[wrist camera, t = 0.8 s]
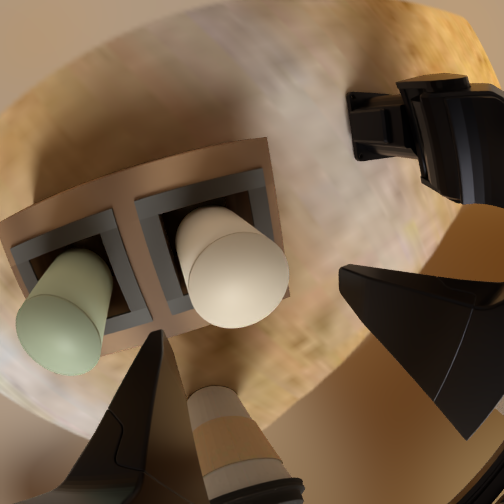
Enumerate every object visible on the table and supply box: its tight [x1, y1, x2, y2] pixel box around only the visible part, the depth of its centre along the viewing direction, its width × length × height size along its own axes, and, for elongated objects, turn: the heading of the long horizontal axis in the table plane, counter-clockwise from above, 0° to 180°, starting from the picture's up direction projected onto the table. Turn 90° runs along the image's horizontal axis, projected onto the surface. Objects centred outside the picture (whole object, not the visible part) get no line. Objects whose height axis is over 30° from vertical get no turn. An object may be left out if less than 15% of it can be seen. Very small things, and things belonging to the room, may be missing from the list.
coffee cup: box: [187, 386, 305, 504], centre depth 21 cm, size 9×9×15 cm
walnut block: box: [0, 137, 290, 357], centre depth 16 cm, size 16×10×6 cm, turn 101°
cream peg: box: [175, 205, 289, 328], centre depth 13 cm, size 4×4×6 cm
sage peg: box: [16, 248, 113, 376], centre depth 11 cm, size 4×4×6 cm
